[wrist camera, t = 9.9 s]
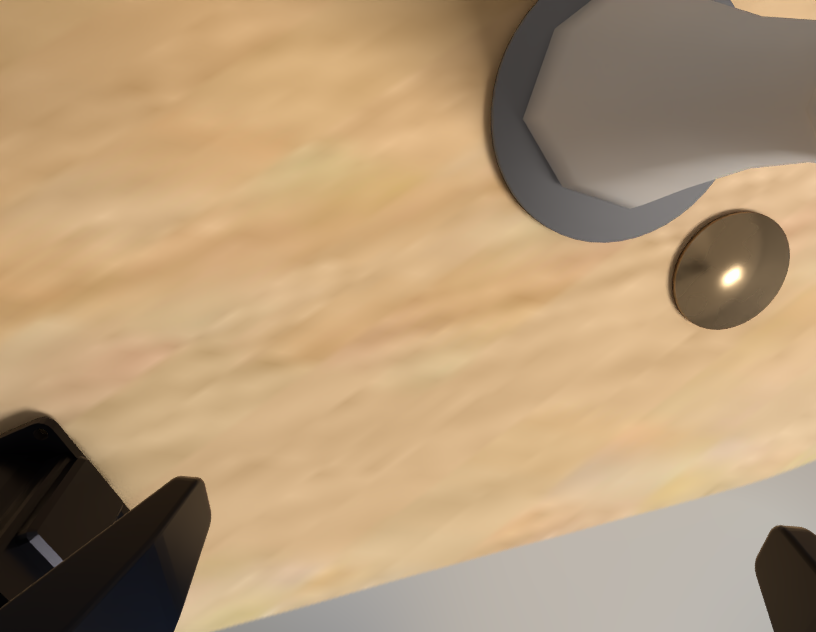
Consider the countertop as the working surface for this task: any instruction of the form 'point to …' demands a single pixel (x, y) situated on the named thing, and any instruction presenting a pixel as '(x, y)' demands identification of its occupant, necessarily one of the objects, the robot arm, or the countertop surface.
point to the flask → (672, 96)
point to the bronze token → (731, 270)
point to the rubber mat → (528, 163)
